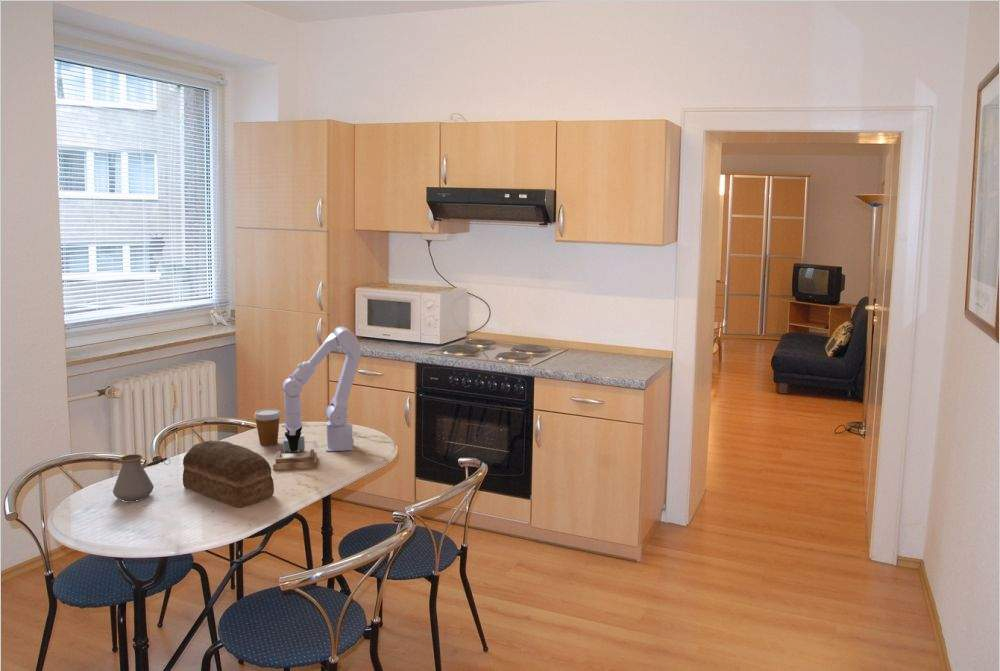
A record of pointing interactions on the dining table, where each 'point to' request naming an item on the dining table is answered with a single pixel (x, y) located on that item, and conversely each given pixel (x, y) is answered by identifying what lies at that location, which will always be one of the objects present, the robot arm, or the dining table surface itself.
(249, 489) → the bread
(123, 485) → the coffee pot
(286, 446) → the blue block with feet
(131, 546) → the dining table surface
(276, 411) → the disposable coffee cup
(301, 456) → the dock
